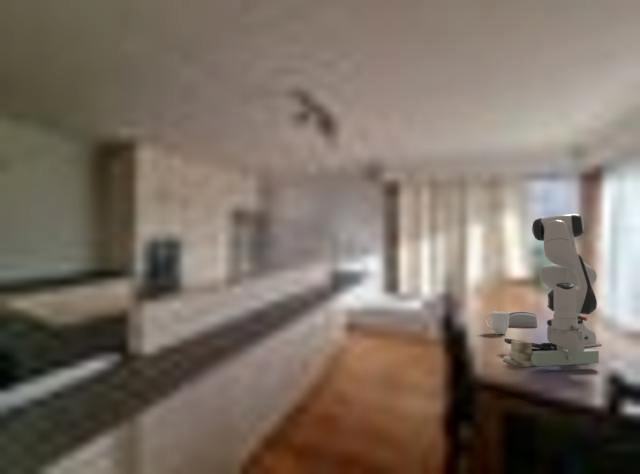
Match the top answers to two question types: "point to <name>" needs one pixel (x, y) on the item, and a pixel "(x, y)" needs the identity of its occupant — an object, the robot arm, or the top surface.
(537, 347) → the zipper pull
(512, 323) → the grey curved block
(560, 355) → the rail
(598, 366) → the top surface
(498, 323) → the mug
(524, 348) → the rail posts
